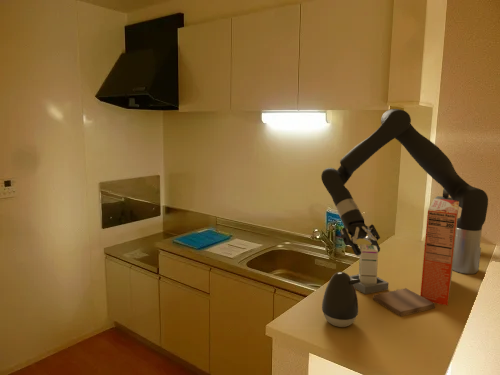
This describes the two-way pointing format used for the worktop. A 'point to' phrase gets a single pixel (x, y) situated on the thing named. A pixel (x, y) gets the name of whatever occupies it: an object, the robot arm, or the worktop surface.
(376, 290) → the holder
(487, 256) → the worktop surface
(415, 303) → the board
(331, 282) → the pump dispenser
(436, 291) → the pasta box
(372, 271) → the syrup box
